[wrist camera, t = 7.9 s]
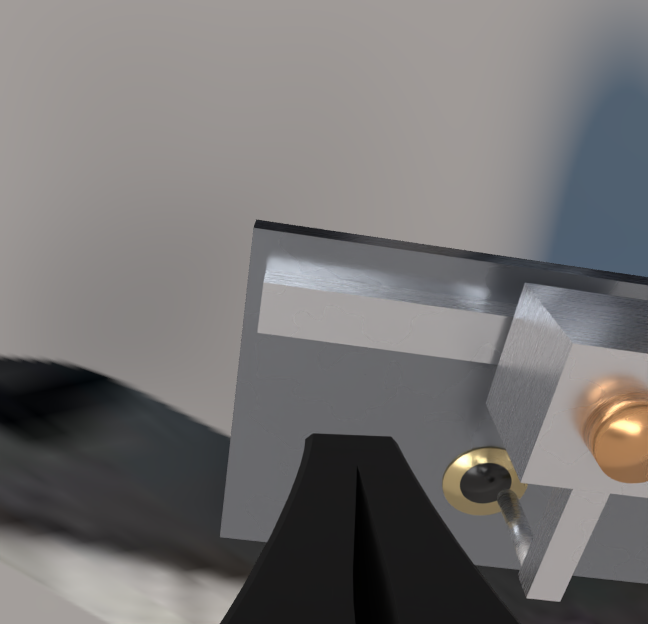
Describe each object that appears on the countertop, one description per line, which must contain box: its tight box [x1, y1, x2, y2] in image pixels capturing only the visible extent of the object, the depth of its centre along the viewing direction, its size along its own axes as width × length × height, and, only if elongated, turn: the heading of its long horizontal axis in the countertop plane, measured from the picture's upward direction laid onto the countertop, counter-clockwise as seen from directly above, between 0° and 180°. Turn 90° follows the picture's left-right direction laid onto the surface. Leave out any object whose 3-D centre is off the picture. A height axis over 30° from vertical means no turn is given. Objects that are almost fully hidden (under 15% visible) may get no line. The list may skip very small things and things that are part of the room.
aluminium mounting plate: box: [220, 220, 648, 584], centre depth 18 cm, size 20×12×6 cm, turn 81°
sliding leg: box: [486, 283, 648, 602], centre depth 17 cm, size 4×8×5 cm, turn 171°
